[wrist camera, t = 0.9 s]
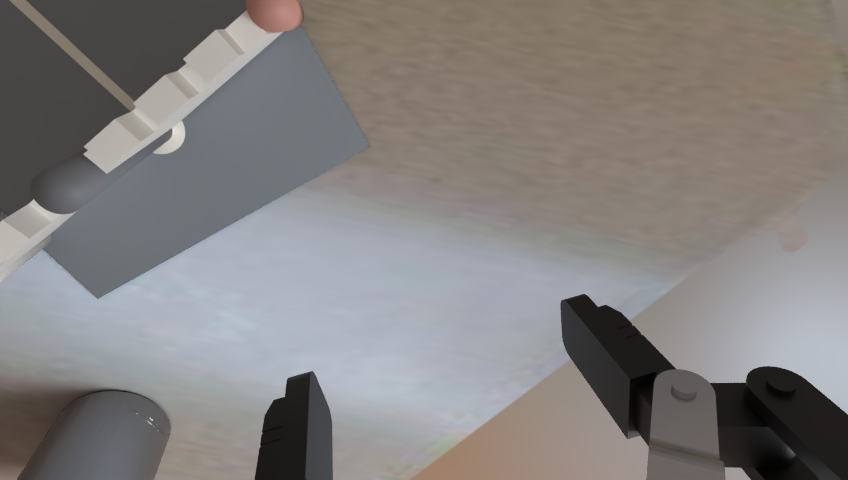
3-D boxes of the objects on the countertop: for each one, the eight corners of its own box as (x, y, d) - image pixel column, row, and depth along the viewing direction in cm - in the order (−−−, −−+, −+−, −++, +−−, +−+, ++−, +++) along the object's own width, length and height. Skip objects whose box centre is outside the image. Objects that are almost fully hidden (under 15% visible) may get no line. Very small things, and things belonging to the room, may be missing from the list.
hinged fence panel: (180, 129, 32) (96, 193, 20) (156, 106, 31) (52, 158, 19) (310, 17, 31) (307, 11, 18) (289, -10, 30) (271, -36, 17)
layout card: (99, 296, 36) (97, 299, 36) (-252, -28, 25) (-262, -29, 24) (369, 145, 36) (370, 146, 36) (142, -256, 24) (139, -262, 24)
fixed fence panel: (38, 252, 34) (-121, 382, 21) (11, 233, 33) (-172, 359, 20) (179, 130, 32) (95, 195, 20) (155, 108, 31) (52, 161, 19)
